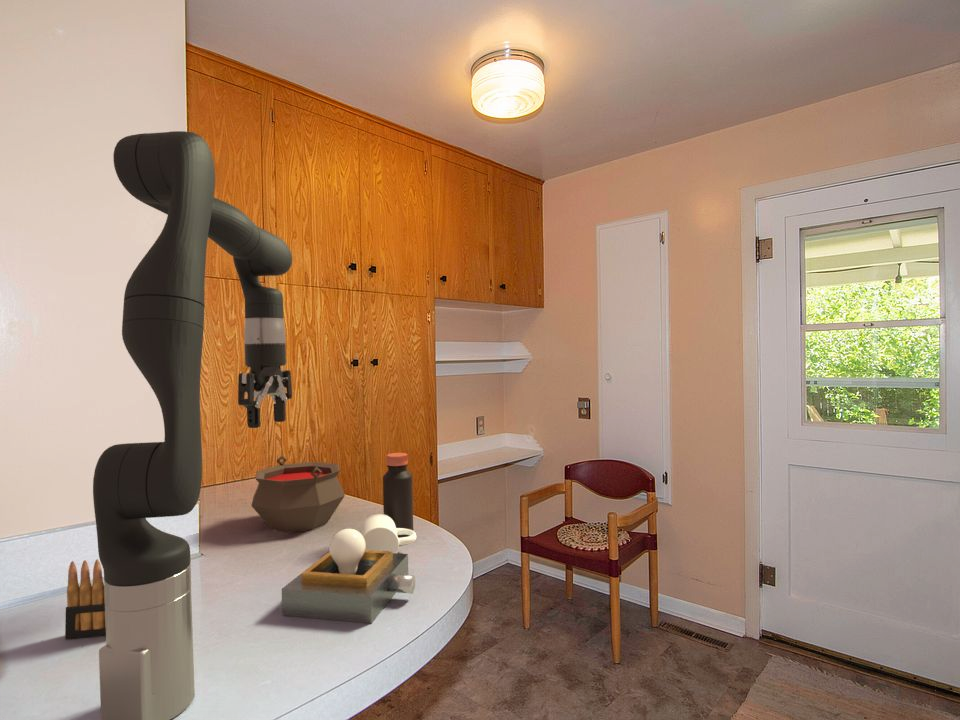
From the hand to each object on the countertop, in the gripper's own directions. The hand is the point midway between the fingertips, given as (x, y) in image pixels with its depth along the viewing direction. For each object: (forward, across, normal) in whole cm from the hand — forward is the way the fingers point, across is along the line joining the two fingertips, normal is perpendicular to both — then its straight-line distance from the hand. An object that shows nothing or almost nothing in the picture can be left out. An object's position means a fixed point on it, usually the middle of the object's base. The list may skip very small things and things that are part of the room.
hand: (267, 424), depth 106 cm
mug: (+30, +14, -19) cm, 38 cm away
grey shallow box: (+30, -5, -21) cm, 37 cm away
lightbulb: (+29, -5, -19) cm, 35 cm away
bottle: (+30, +23, -18) cm, 42 cm away
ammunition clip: (+30, -24, +14) cm, 41 cm away
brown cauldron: (+30, +31, +12) cm, 45 cm away
